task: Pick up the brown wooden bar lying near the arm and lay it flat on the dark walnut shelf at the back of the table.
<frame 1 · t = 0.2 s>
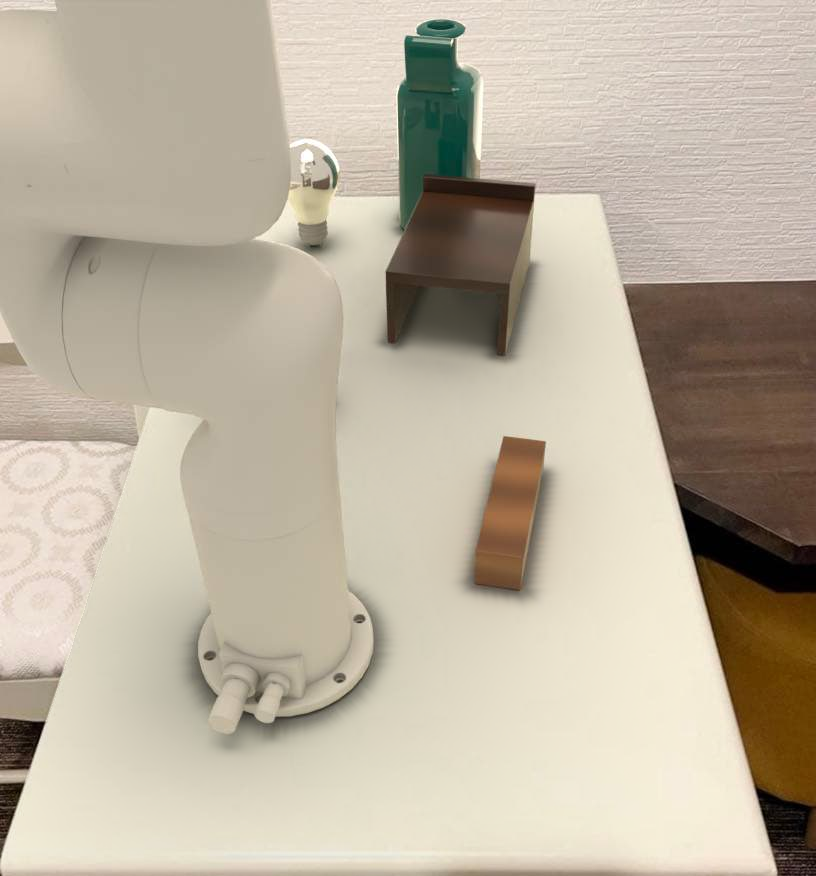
wooden block: (265, 403, 93), on the table
light bulb: (314, 246, 115), on the table
shelf: (461, 302, 105), on the table
brown wooden bar: (510, 525, 81), on the table
green glass bottle: (437, 224, 118), on the table
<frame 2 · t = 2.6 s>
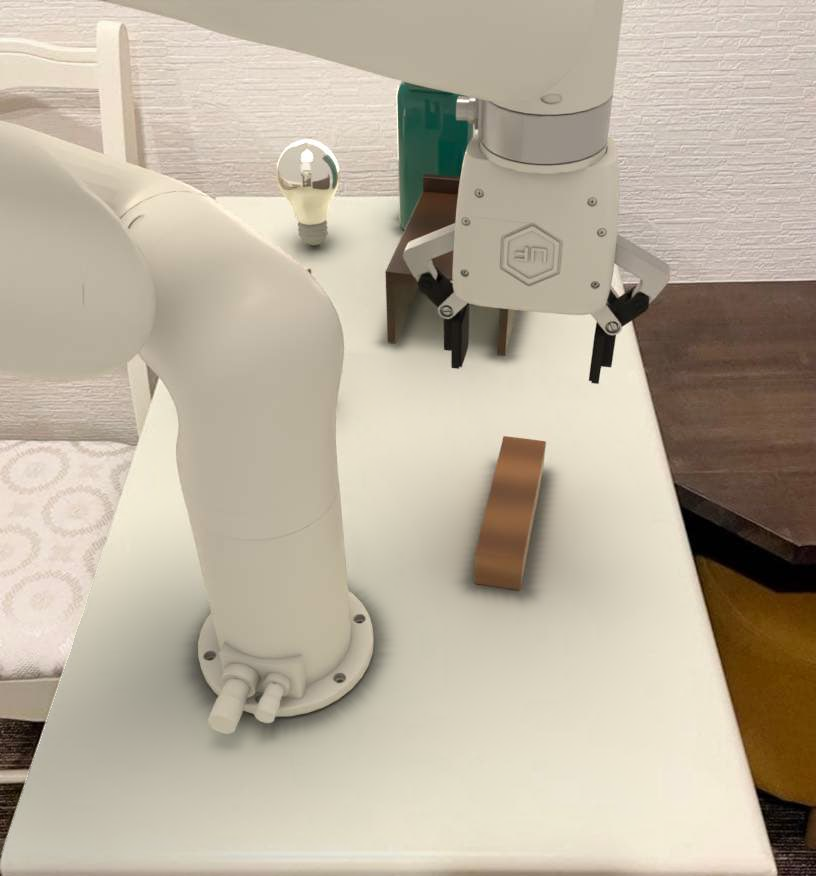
hand: (526, 364, 70), 16 cm above the table, tool pointing down, fingers open, 9 cm apart
nothing on the table moved.
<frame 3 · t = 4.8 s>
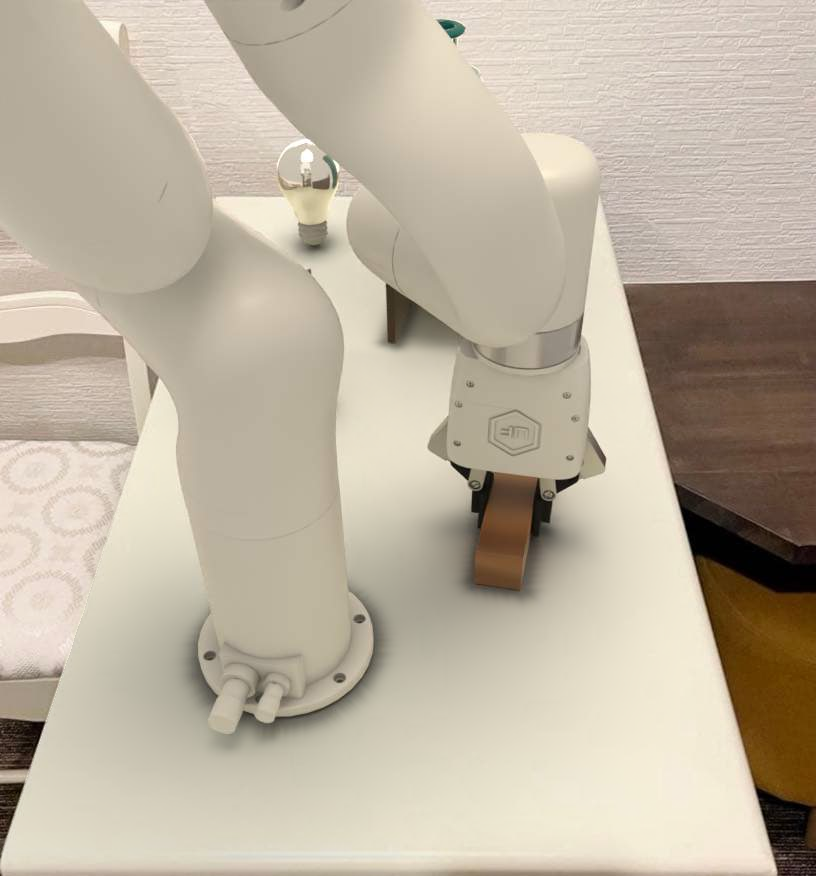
hand: (510, 519, 80), 1 cm above the table, tool pointing down, fingers closed on brown wooden bar, 3 cm apart
brown wooden bar: (510, 525, 81), on the table, touching gripper
everything else where it was.
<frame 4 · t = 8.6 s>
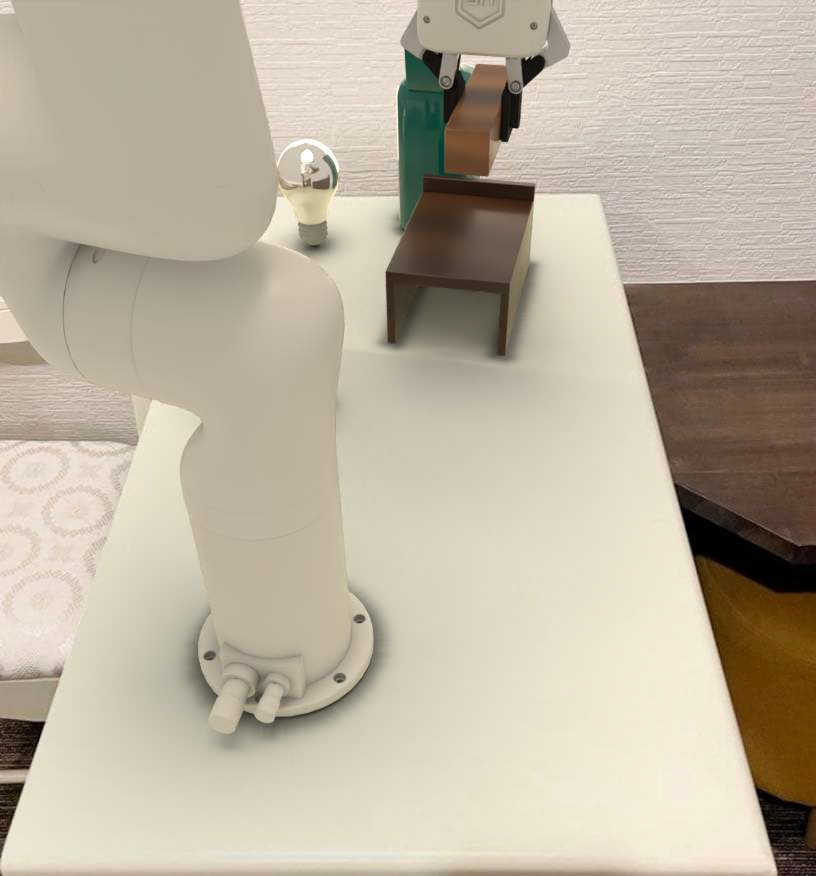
hand: (481, 131, 84), 22 cm above the table, tool pointing down, fingers closed on brown wooden bar, 3 cm apart
brown wooden bar: (481, 138, 84), point 21 cm above the table, touching gripper
everything else where it was.
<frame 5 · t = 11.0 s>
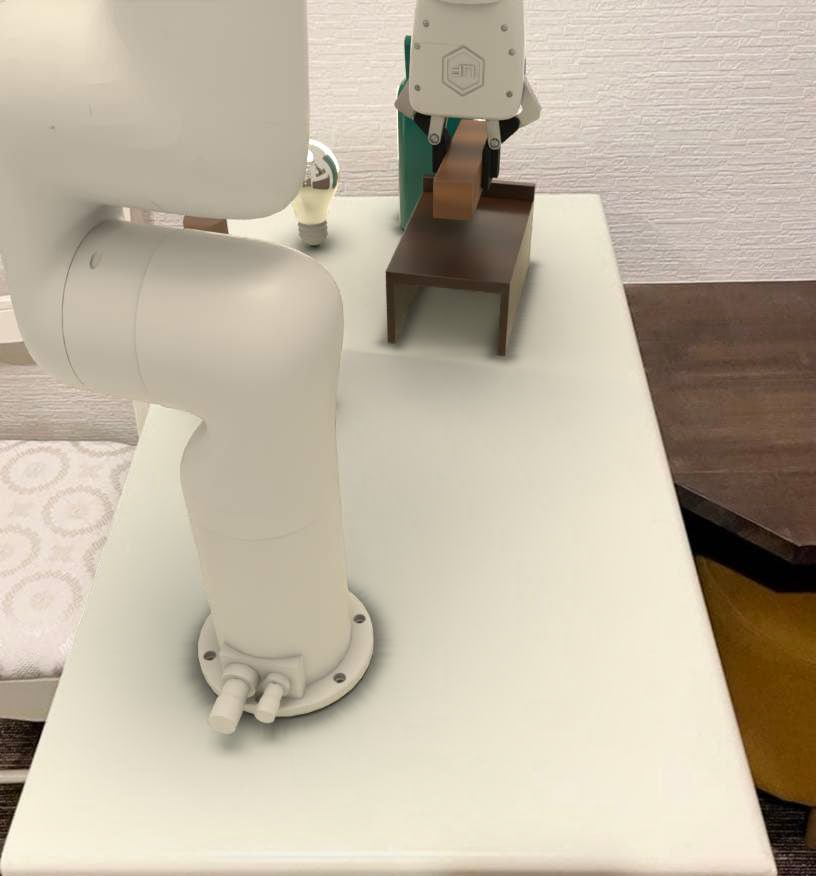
hand: (465, 180, 96), 13 cm above the table, tool pointing down, fingers closed on brown wooden bar, 3 cm apart
brown wooden bar: (465, 186, 96), point 13 cm above the table, touching gripper
everything else where it was.
when the fingers open (9 cm above the table, at t = 12.5 s): brown wooden bar stays where it is, resting on shelf.
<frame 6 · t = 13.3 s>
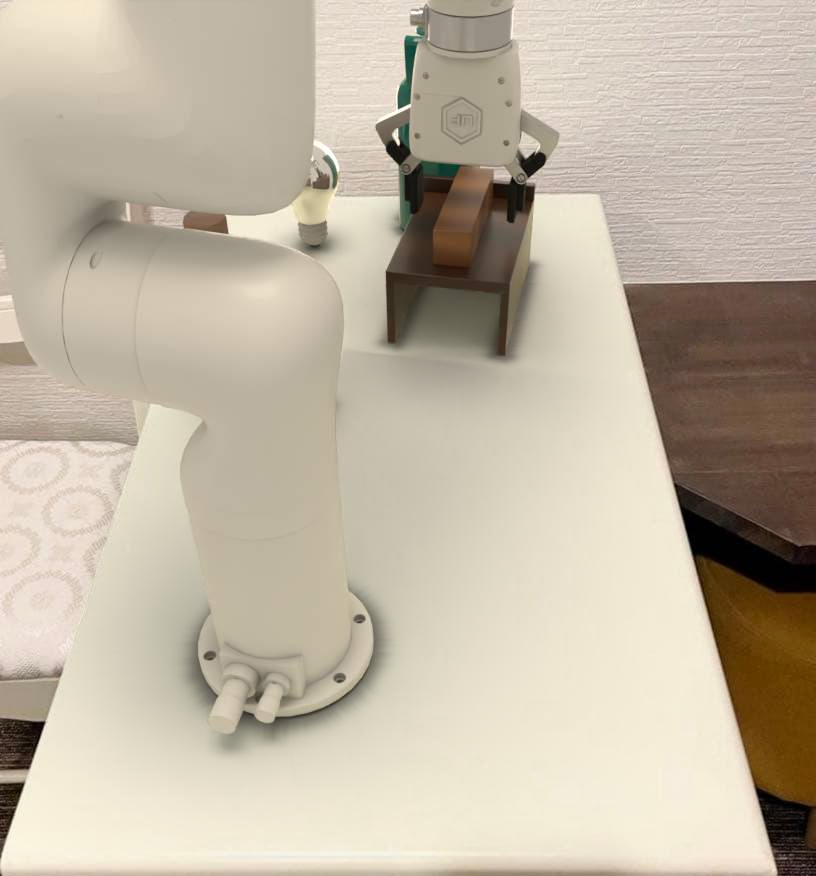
hand: (464, 212, 98), 10 cm above the table, tool pointing down, fingers open, 9 cm apart
brown wooden bar: (464, 231, 100), point 8 cm above the table, touching shelf
everything else where it was.
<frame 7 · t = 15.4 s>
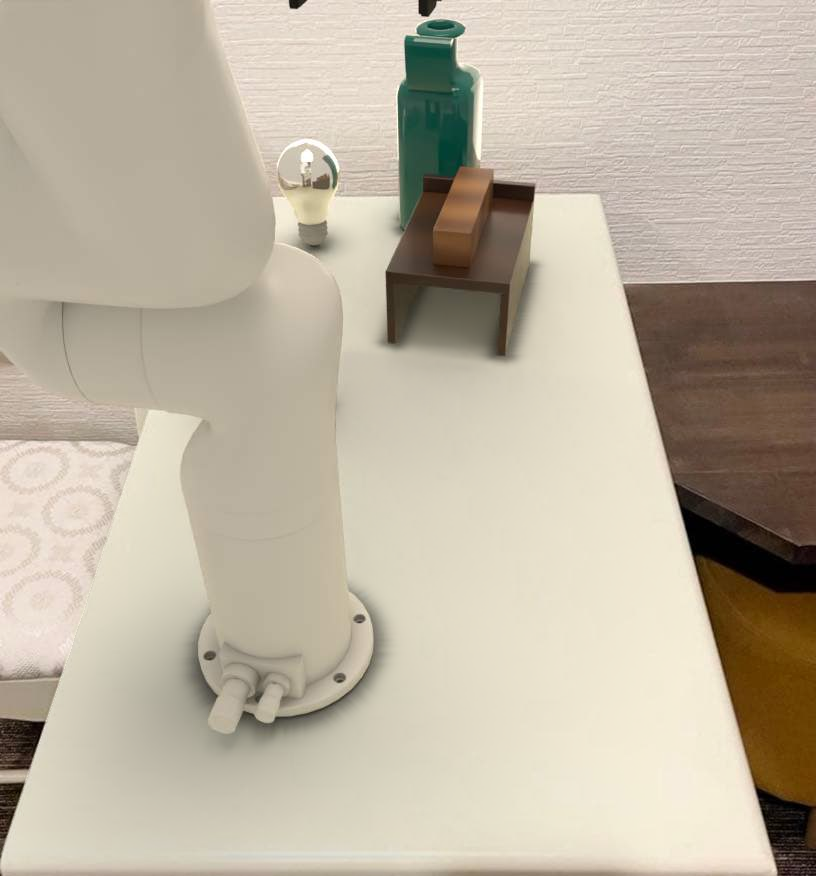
hand: (363, 7, 72), 33 cm above the table, tool pointing down, fingers open, 9 cm apart
nothing on the table moved.
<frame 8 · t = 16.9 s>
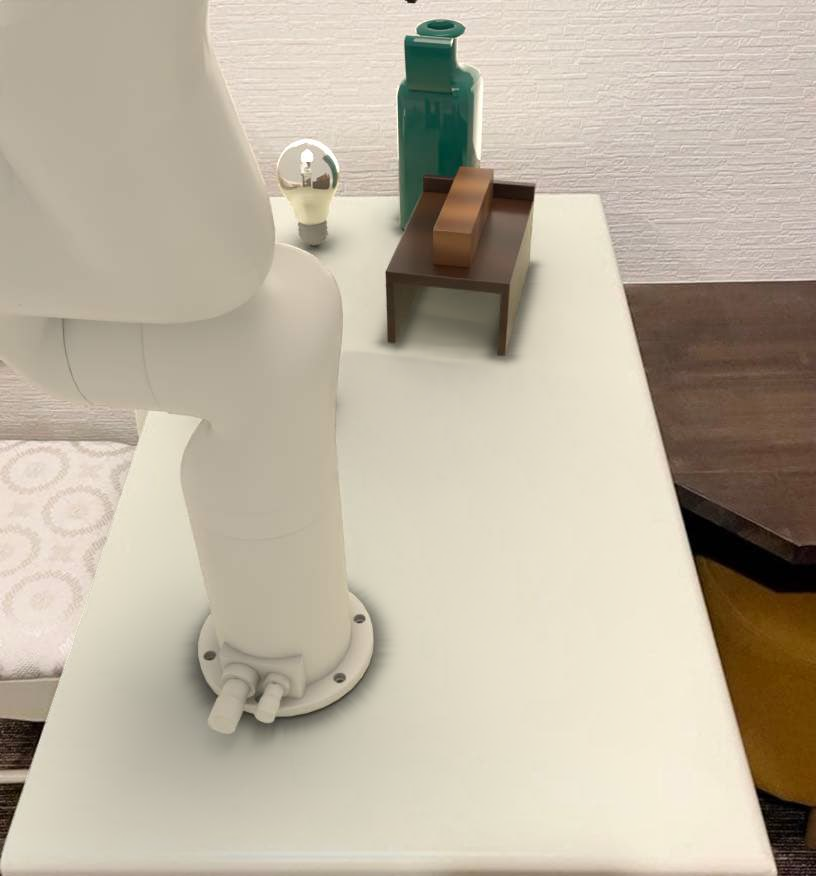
nothing on the table moved.
at the end: brown wooden bar inside the target area on the shelf (0.1 cm from its centre), point 8.0 cm above the shelf's base; brown wooden bar tilted 0°; the gripper is holding nothing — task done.
